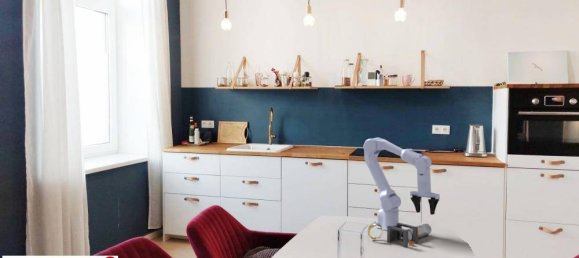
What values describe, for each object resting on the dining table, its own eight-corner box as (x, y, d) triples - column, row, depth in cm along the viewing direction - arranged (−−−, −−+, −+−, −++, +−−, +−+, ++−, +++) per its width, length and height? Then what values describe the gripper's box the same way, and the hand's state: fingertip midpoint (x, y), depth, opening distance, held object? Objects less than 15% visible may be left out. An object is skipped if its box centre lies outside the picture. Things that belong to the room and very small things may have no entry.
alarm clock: (368, 240, 206) (368, 222, 206) (366, 238, 210) (367, 220, 209) (384, 241, 207) (384, 222, 206) (382, 238, 210) (383, 220, 209)
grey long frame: (410, 243, 204) (411, 232, 204) (400, 239, 208) (401, 228, 207) (430, 236, 215) (432, 225, 214) (421, 232, 218) (422, 222, 218)
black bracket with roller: (386, 242, 205) (387, 226, 205) (398, 238, 211) (399, 222, 210) (407, 247, 197) (407, 231, 197) (418, 243, 203) (419, 227, 203)
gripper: (443, 183, 211) (444, 213, 211) (416, 180, 222) (417, 209, 223) (433, 185, 207) (435, 216, 207) (406, 182, 218) (408, 212, 218)
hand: (425, 213), depth 215 cm, fingers open, 7 cm apart
